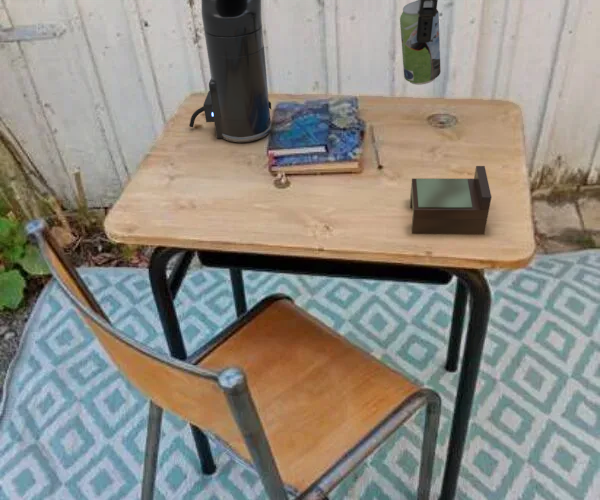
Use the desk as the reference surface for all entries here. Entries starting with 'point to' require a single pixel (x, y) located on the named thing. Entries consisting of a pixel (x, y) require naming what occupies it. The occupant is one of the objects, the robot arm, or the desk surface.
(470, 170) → the desk surface
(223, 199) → the desk surface
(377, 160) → the desk surface
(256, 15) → the robot arm
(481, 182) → the miniature bed
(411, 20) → the beverage can
